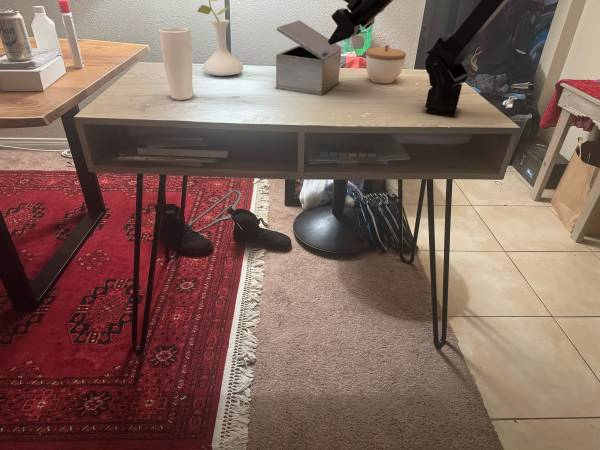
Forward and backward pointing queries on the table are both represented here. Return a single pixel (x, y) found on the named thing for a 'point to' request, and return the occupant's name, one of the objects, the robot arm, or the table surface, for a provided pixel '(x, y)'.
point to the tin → (306, 71)
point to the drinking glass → (177, 60)
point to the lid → (309, 39)
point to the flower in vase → (220, 49)
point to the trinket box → (384, 64)
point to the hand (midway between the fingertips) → (329, 43)
